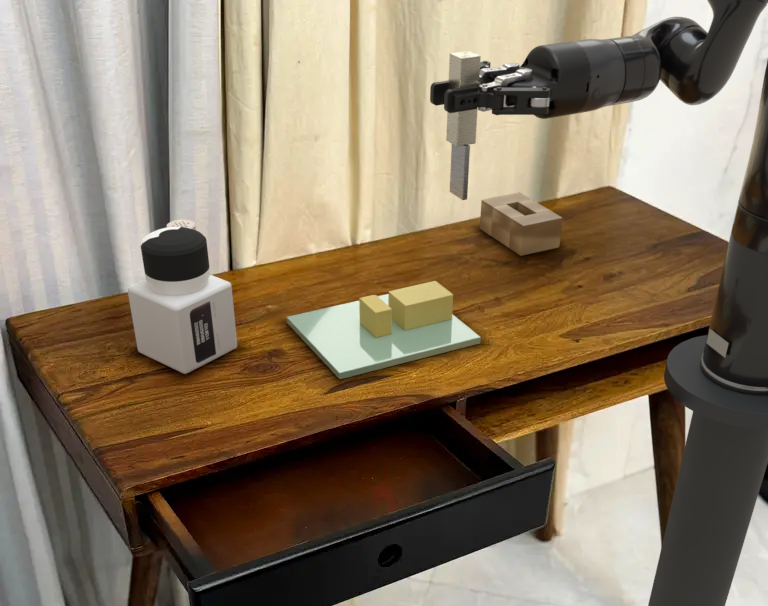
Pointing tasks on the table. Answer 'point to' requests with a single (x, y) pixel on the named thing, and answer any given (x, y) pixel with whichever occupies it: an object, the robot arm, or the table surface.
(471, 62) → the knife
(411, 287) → the butter block
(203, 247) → the container
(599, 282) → the table surface
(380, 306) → the block
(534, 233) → the knife stand
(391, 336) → the butter board
